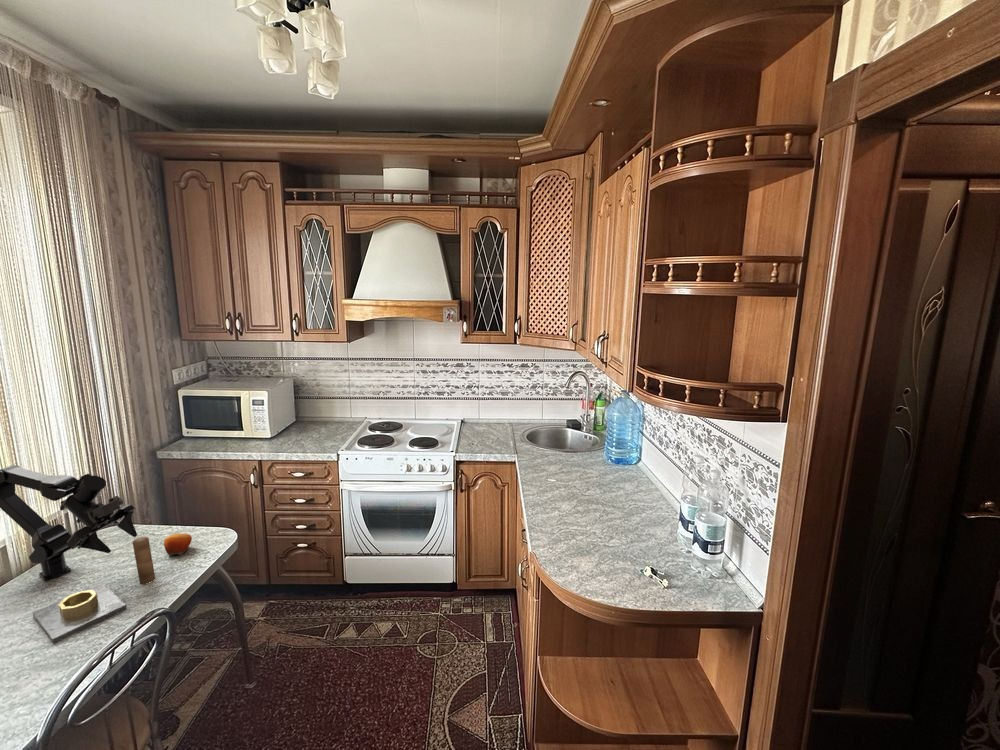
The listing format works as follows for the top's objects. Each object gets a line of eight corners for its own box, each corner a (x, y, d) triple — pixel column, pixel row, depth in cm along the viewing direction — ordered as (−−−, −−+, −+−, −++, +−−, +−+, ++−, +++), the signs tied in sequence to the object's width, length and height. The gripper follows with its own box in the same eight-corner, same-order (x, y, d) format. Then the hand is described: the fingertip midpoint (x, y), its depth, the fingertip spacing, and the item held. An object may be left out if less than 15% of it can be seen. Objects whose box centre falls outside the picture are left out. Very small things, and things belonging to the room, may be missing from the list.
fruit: (158, 559, 159) (160, 534, 162) (168, 559, 166) (169, 535, 169) (185, 555, 161) (187, 530, 164) (194, 555, 169) (195, 531, 171)
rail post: (137, 581, 150) (130, 541, 147) (152, 575, 153) (145, 535, 150) (142, 586, 148) (135, 545, 145) (157, 579, 151) (150, 539, 148)
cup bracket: (33, 617, 134) (30, 603, 133) (103, 587, 147) (101, 574, 146) (53, 644, 124) (50, 629, 123) (126, 609, 137) (124, 595, 136)
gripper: (68, 507, 137) (109, 544, 138) (125, 480, 155) (161, 513, 156) (49, 531, 139) (89, 567, 140) (108, 501, 158) (143, 534, 158)
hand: (123, 543), depth 149 cm, fingers open, 9 cm apart
